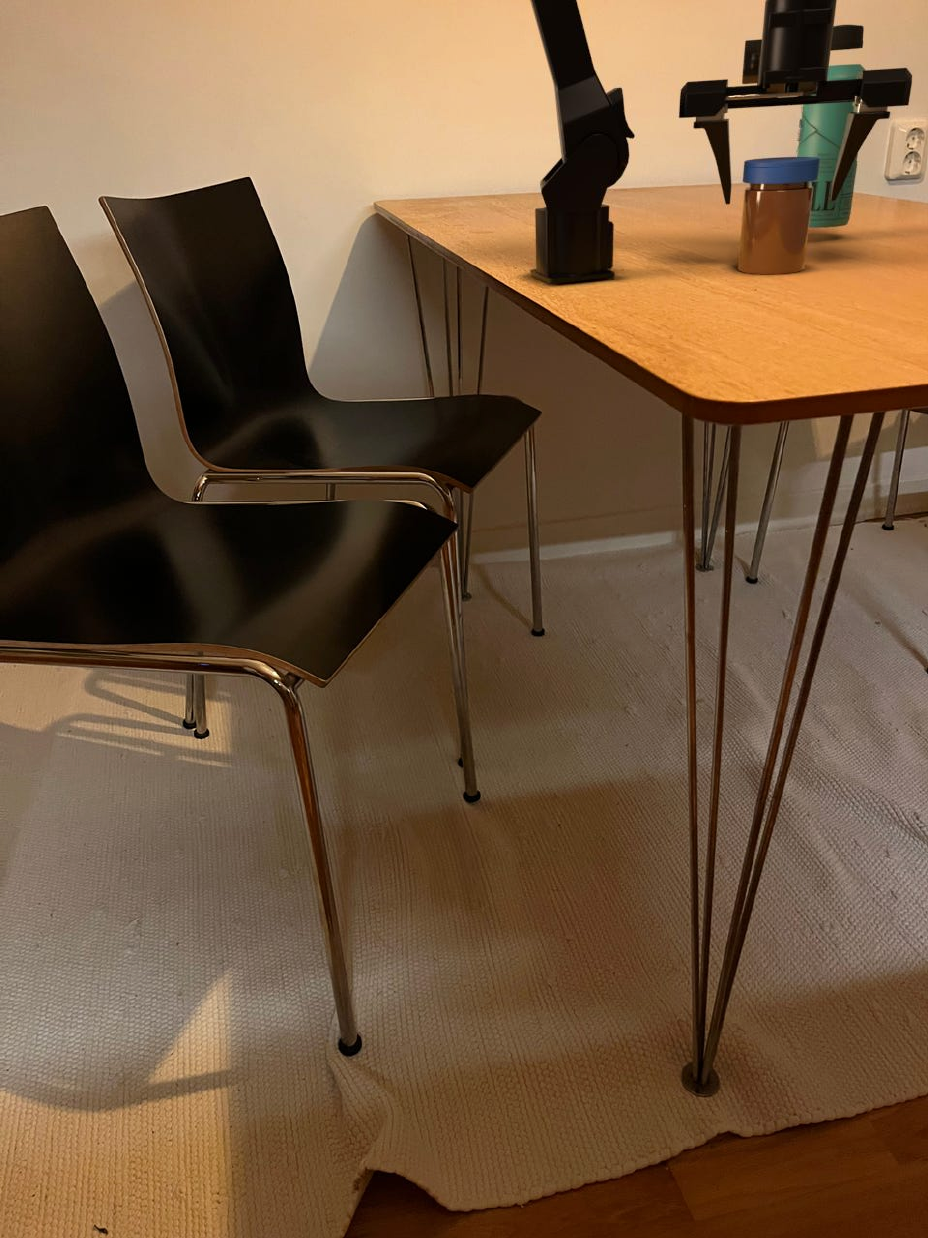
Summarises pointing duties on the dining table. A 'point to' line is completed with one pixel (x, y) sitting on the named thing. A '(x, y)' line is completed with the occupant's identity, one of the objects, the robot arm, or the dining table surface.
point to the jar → (775, 228)
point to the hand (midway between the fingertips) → (779, 202)
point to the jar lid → (781, 170)
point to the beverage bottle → (830, 138)
